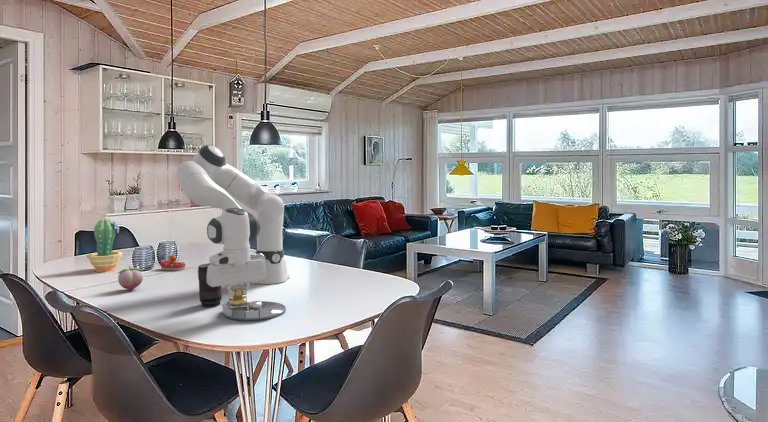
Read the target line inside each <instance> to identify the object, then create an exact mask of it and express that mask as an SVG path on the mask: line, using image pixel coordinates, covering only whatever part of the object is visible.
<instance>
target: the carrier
mask: <svg viewBox="0 0 768 422" xmlns="http://www.w3.org/2000/svg"><path fill="white" fill-rule="evenodd" d="M242 297H246V298H247V295H242ZM221 307H222V313H223V315H224V317H225V319H228V320H232V321H238V322H259V321H260V322H261V321H266V320H270V319H275V318H278V317H281V316H282V315H284V314H285V313H286V311H287V308H286V305H284V304H283V303H280V302H277V301H276V302H275V301H263V300H253V301H247V304H246V305H243V306H230V305H229V299H228V300H226V301H224V302H223V304H222V306H221Z"/></svg>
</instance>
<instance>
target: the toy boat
mask: <svg viewBox="0 0 768 422" xmlns="http://www.w3.org/2000/svg"><path fill="white" fill-rule="evenodd" d="M168 257H169V260H167V259H166V260H165V259H164V260H163V259H162V260H161V261H160V263H159V265H160V269H161V270H163V271H168V272H169V271H170V272H171V271H172V272H177V271H179V272H180V271H182V270H184V269H185V268H186V263H185V262H179V261H178V262H177V261H176V258H177V256H176V255H175V254H170V255H169V256H168Z"/></svg>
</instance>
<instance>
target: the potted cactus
mask: <svg viewBox="0 0 768 422" xmlns="http://www.w3.org/2000/svg"><path fill="white" fill-rule="evenodd" d="M119 232H120V227H119V226H118V223H116V221H113V220H111V219H108V218H105V219H103V218H101V219H99V220H98V221H97V222H96V224H94V227H93V234H94V238H95V239H94V240H95V241H96V252H93V253H88V254H87V255H86V258H87V259H88V260H89V262H90V264H91V265H92V267H94V272H98V273H106V272H112V271H116V268H117V265H118V264H119V262H120V259H121V257H122V256H123V252H122V251H115V250H114V251H113V245H114V244H113V243H114V241H115V238H116V234H119Z"/></svg>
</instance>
